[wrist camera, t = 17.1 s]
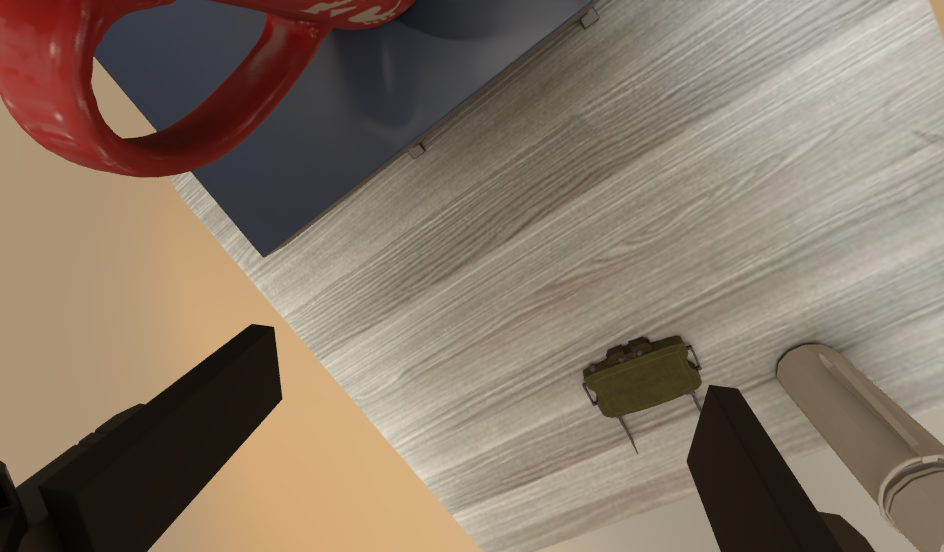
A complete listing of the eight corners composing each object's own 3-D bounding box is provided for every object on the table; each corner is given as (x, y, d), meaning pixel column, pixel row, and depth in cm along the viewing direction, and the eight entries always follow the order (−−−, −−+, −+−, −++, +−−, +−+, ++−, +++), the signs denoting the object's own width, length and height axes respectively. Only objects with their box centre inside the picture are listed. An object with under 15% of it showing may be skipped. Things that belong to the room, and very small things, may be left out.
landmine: (685, 332, 53) (730, 429, 57) (679, 321, 56) (722, 415, 60) (573, 373, 58) (621, 461, 61) (572, 362, 60) (618, 447, 64)
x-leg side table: (423, 169, 54) (249, 268, 23) (348, 64, 51) (29, 10, 20) (624, 19, 46) (793, -156, 14) (548, -117, 43) (547, -722, 11)
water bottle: (847, 384, 55) (1059, 588, 32) (775, 398, 57) (927, 599, 34) (836, 318, 53) (1059, 489, 30) (762, 335, 55) (916, 507, 32)
